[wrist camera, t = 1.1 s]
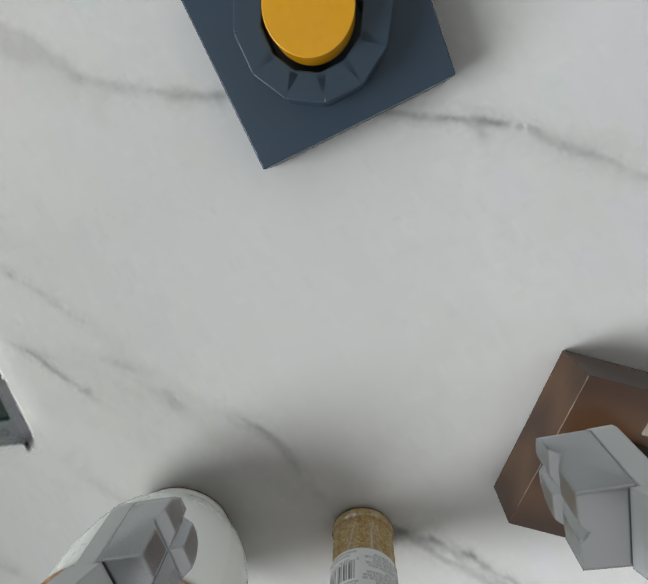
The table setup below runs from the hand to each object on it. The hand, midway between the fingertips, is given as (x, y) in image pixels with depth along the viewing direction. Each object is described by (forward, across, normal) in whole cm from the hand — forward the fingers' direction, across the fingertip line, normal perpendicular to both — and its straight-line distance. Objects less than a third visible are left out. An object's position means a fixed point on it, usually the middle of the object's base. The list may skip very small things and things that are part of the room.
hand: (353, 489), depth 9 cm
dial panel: (+16, -13, +14) cm, 25 cm away
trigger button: (+13, -1, -13) cm, 18 cm away
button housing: (+16, -1, -13) cm, 21 cm away
